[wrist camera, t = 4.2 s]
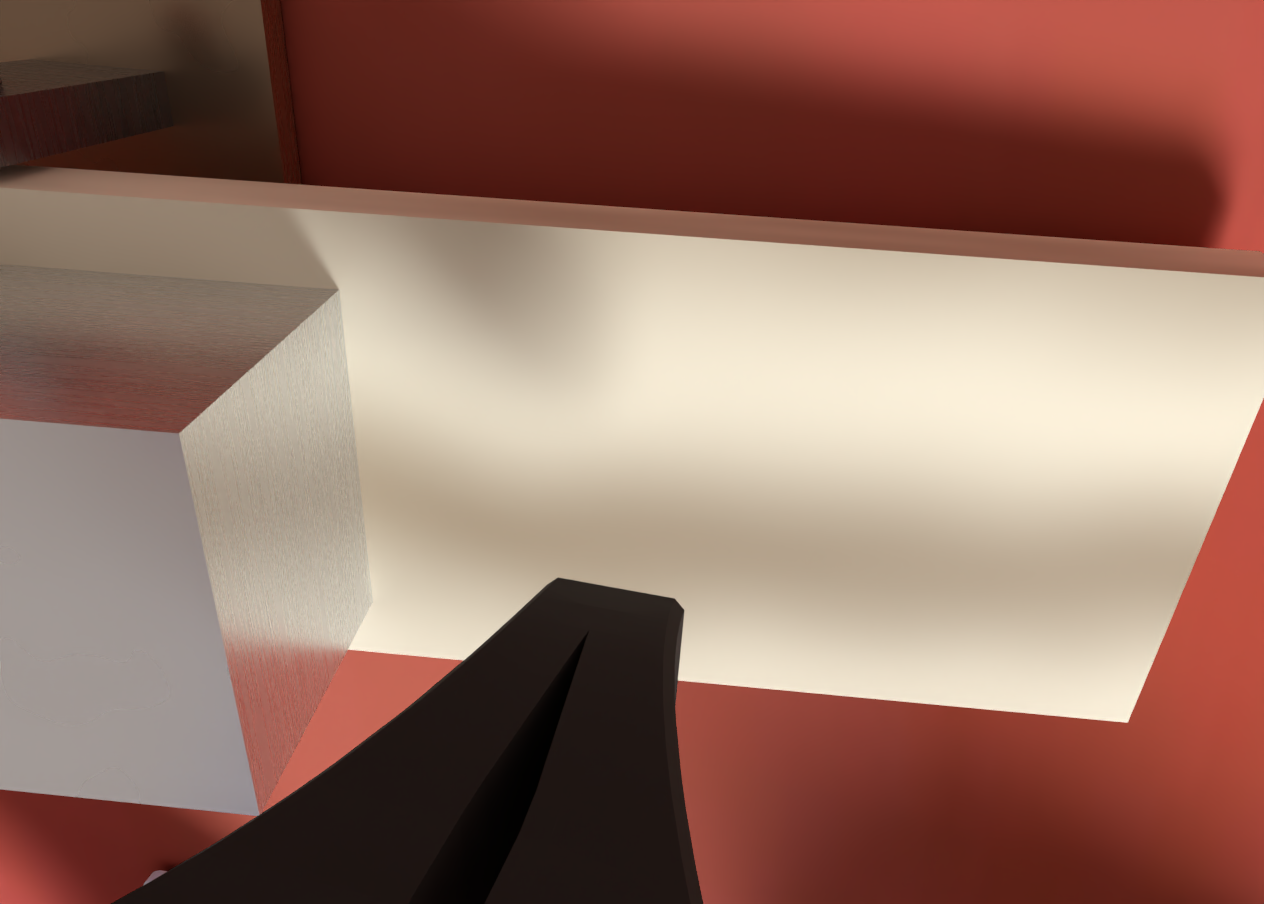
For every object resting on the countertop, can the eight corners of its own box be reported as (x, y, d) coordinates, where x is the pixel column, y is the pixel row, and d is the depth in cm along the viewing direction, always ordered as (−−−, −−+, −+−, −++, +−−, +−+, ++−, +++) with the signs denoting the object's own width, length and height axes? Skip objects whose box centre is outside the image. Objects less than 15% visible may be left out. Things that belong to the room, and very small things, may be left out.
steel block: (372, 602, 14) (260, 815, 11) (58, 572, 14) (-155, 773, 11) (339, 289, 12) (178, 434, 8) (-38, 260, 12) (-348, 390, 8)
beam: (1098, 668, 15) (1169, 802, 13) (-681, 506, 17) (-913, 598, 14) (1259, 250, 12) (1394, 326, 9) (-990, 94, 13) (-1360, 125, 11)
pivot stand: (354, 616, 19) (242, 760, 16) (102, 567, 20) (-54, 691, 17) (276, -33, 13) (70, -31, 10) (-72, -56, 14) (-364, -61, 11)
